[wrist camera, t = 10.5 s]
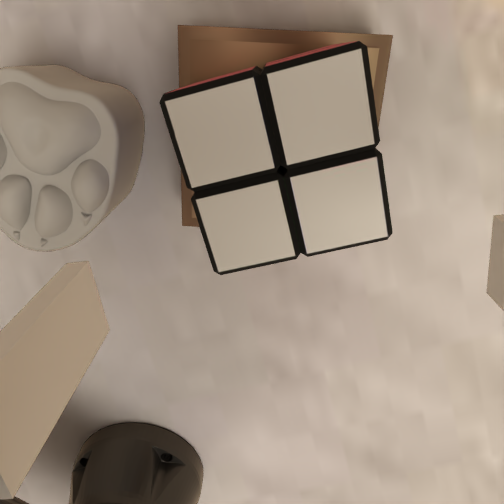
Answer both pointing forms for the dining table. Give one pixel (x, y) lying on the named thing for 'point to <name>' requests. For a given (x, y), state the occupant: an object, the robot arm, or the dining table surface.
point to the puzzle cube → (283, 158)
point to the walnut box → (262, 62)
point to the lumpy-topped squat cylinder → (63, 153)
